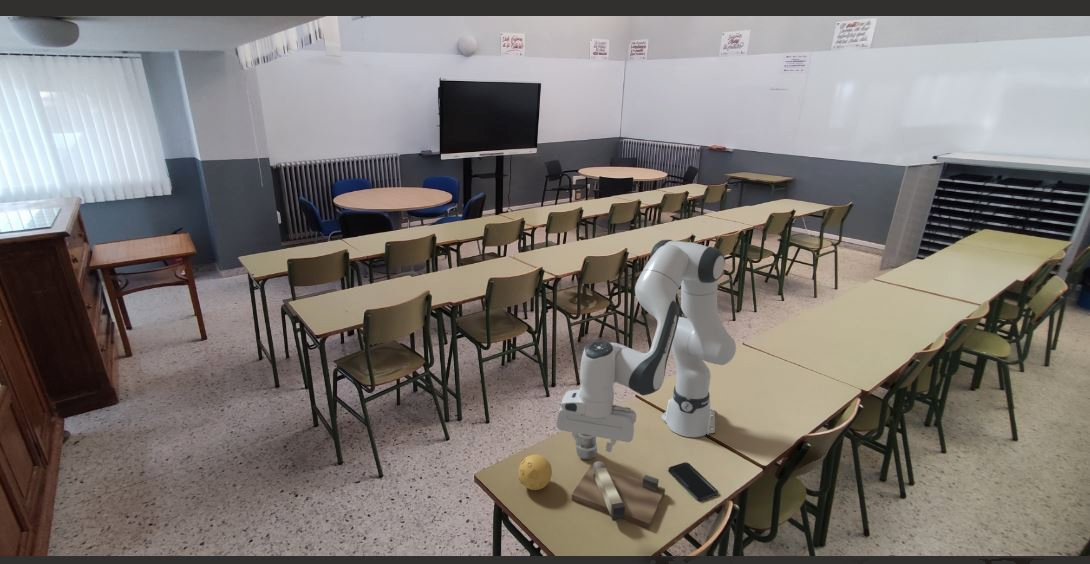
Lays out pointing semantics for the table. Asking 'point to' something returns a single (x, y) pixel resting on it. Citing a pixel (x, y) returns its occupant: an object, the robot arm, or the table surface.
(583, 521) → the table surface
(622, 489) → the seat board
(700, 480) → the phone
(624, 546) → the table surface
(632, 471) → the table surface
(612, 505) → the stool leg
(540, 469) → the stress ball
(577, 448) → the plastic bottle
